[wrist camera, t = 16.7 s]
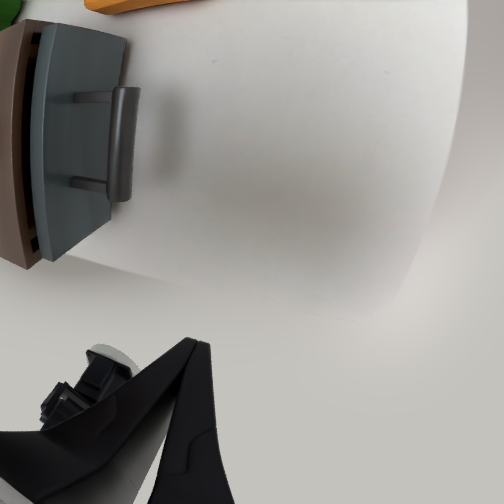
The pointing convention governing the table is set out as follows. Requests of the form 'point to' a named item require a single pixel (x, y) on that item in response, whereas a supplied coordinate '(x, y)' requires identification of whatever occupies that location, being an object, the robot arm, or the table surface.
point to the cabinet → (15, 142)
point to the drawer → (75, 135)
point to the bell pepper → (8, 12)
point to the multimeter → (121, 5)
